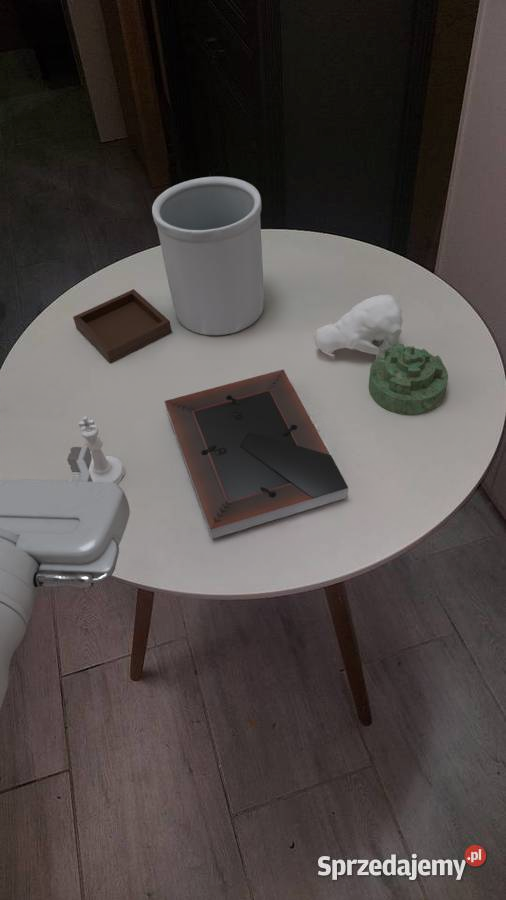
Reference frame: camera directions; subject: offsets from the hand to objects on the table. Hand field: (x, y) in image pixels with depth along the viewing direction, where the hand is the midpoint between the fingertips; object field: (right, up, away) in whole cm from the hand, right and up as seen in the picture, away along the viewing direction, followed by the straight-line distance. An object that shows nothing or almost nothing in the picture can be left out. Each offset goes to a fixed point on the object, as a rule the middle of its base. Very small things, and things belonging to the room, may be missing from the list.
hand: (32, 450), depth 63 cm
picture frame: (+20, -1, +23) cm, 30 cm away
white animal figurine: (+35, +14, +34) cm, 51 cm away
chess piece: (+2, -3, +22) cm, 22 cm away
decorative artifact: (+41, +8, +29) cm, 51 cm away
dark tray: (+1, +18, +40) cm, 44 cm away
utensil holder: (+15, +22, +43) cm, 50 cm away
